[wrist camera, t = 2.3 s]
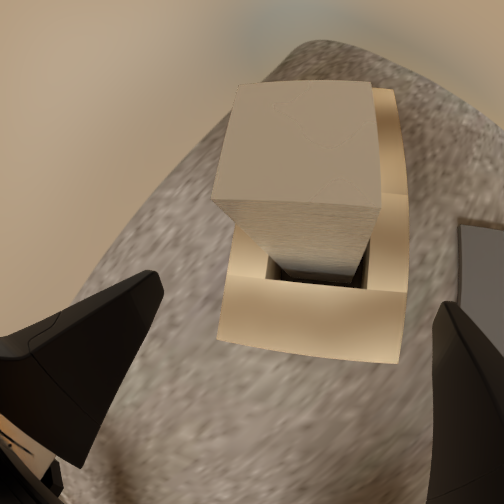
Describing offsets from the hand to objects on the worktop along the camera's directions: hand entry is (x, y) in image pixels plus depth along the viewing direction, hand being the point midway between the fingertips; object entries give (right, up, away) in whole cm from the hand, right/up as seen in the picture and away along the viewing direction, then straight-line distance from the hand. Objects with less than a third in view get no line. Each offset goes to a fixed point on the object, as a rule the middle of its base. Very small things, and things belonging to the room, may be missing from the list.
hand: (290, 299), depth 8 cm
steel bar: (+4, +1, +11) cm, 11 cm away
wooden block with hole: (+4, +4, +11) cm, 13 cm away
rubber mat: (+18, -2, +6) cm, 19 cm away
